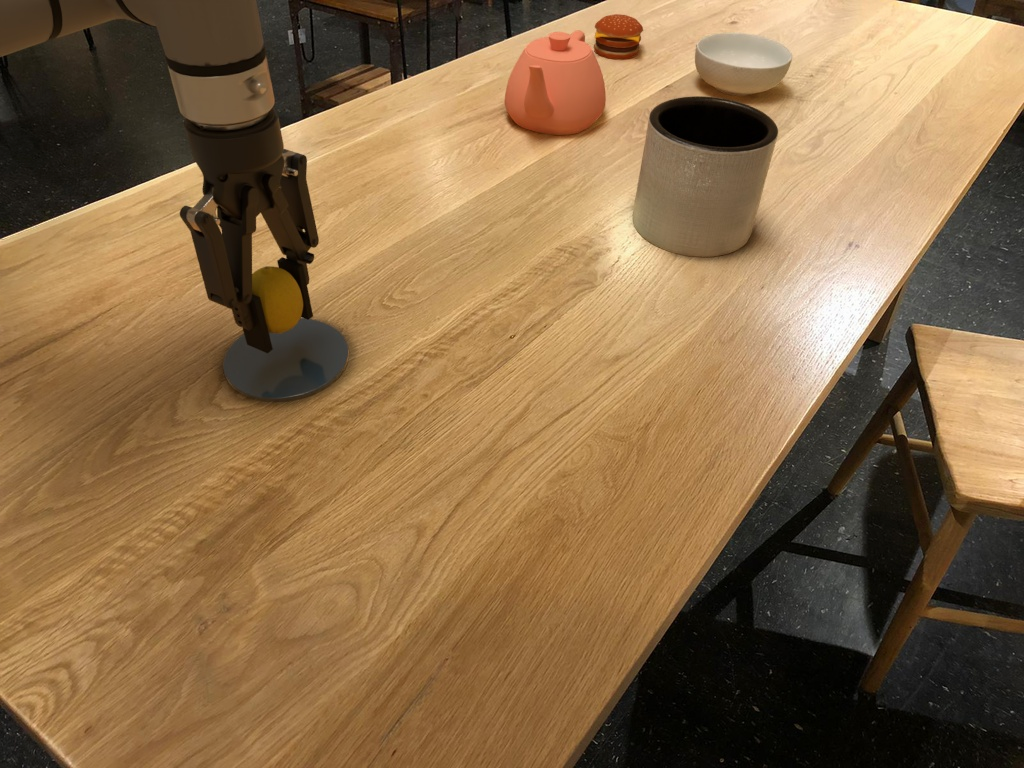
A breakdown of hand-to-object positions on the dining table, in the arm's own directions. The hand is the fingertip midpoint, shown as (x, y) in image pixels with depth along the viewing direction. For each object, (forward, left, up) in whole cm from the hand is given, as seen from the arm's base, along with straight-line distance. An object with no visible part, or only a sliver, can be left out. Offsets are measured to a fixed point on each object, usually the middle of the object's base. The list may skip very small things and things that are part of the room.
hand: (280, 329), depth 79 cm
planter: (+28, +49, -5) cm, 57 cm away
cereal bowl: (+19, +101, -5) cm, 103 cm away
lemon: (0, 0, -1) cm, 1 cm away
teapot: (-4, +71, -5) cm, 71 cm away
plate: (0, 0, -5) cm, 5 cm away
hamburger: (-7, +106, -5) cm, 106 cm away
